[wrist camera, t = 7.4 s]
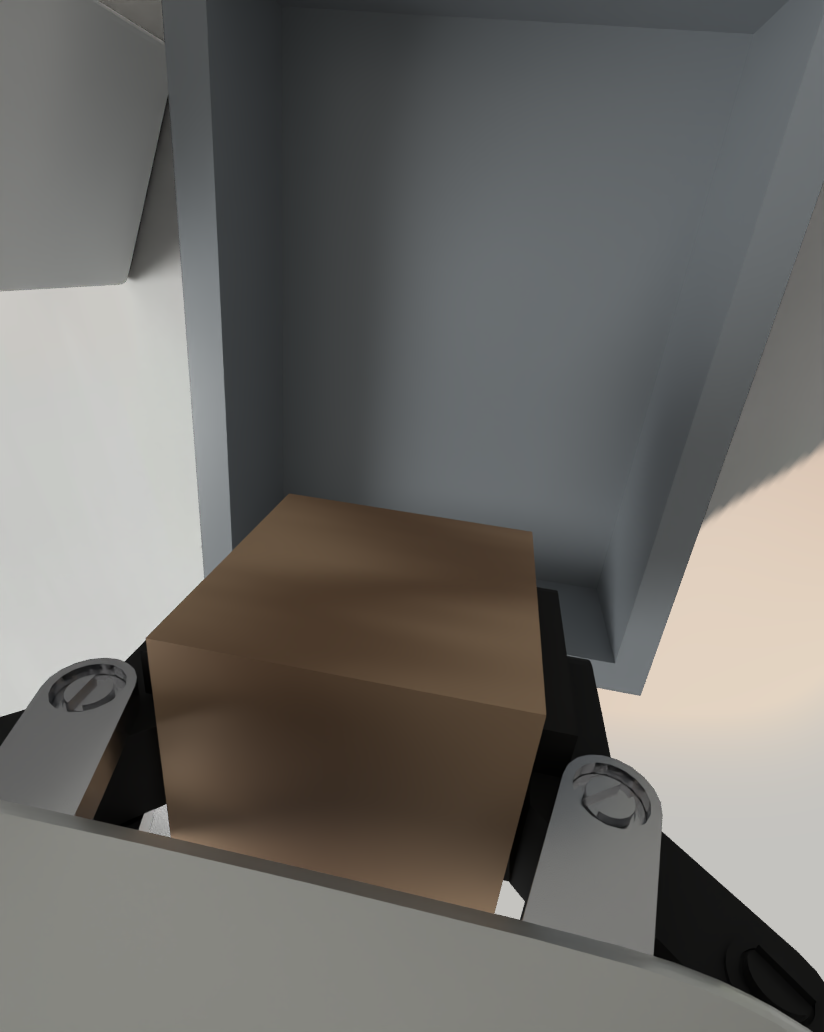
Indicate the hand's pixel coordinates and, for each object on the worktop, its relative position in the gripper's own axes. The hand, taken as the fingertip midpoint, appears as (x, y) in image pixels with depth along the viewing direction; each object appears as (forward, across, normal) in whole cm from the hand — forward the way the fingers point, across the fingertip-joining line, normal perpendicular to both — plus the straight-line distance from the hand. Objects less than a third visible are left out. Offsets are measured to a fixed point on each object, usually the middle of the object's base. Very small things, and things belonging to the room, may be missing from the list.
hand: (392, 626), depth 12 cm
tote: (+10, 0, -5) cm, 11 cm away
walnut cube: (+1, 0, 0) cm, 1 cm away
